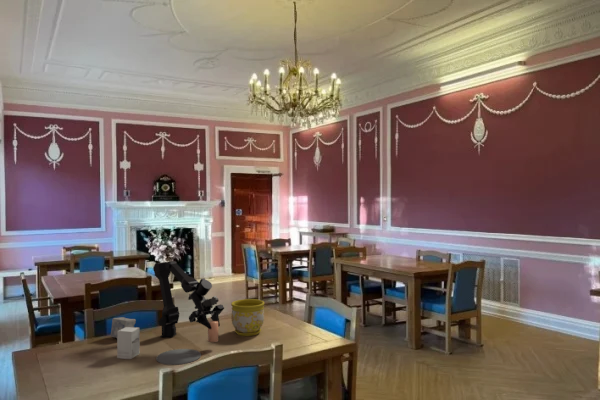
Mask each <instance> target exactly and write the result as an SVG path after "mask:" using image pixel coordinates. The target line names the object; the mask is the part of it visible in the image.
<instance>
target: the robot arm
mask: <svg viewBox="0 0 600 400" xmlns="http://www.w3.org/2000/svg"><path fill="white" fill-rule="evenodd" d="M153 272H154V276H155V277H156V278H157V279H158V281H159V287H160V292H161V298H162V304H163V308H162V311H161V317H160V318H159V320H158V326H161V335H160V336H159V337H160V338H167V339H168V338H174V337H175V336H177V327H176V324H178V323H179V319H180V311H179V307H178V306H176V305H175V304H174V300H173V294H172V289H171V284H170V275H171V274H172V275H173V276H174V277H175V278H176V279H177V280H178V282H179V283H180V287H181V288H182V290H183V291H184V292H185V293H187V294H188V293H189V294H188V298H187V300H188V301H190V300H192V303H193V304H194V309H195V310H193V311H192V312H191V313H190V315H189V316H188V321H189V322H190V323H194V322H196V323H199V324H200V325H203V326H204V327H206V329H208V328H209V329H211V325H210V323H209V321H210V320H211V321H218V328H219V327H220V325H221V324H220V318H219V315H220V314H221V313H222V312H223V310H225V307H224V305H223V304H222V303H221V304H218V302H219V298H218V297H217V295H214V296H211V298H205V296H206V295H208V293H209V292H210V290H211V289H212V287H213V284H212V282H211V281H209V280H207V279H205V277H202V278H201V279H200V280H199V281H198V280H197V279H196V278H195V277H192V276H189V275H188V274H187V273H186V271H184V270H183V268H181V267H180V265H179V264H178V262H177V261H175V260H170V261H163V262H156V263H155V264H154V265H153ZM217 304H218V305H217ZM208 315H210V316H211V317H210V320H208V318H207V316H208Z"/></svg>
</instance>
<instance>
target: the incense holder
mask: <svg viewBox="0 0 600 400" xmlns="http://www.w3.org/2000/svg"><path fill="white" fill-rule="evenodd" d="M111 320H112V322H111V330H110V337H111V338H116V339H117V331H119V330H121V329H123V328H125V327H135V324H136V321H137V320H136V319H135V318H126V317H124V316H122V317H121V316H120V317H114V318H112V319H111Z"/></svg>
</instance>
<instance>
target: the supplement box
mask: <svg viewBox="0 0 600 400" xmlns="http://www.w3.org/2000/svg"><path fill="white" fill-rule="evenodd" d="M140 328H141V327H137V326H136V327H135V326H134V327H125V328H123V329H121V330H119V331H117V338H116V342H117V347H116V349H117V350H116V351H117V355H116V359H125V360H131V359H133V358H135V357H137V356H138V355H140V348H141V347H140V338H141V337H140V331H141V330H140Z"/></svg>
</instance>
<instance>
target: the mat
mask: <svg viewBox="0 0 600 400" xmlns="http://www.w3.org/2000/svg"><path fill="white" fill-rule="evenodd" d="M201 353H202V352H200V351H199V350H197V349H193V348H192V349H191V348H177V349H170V350H168V351H167V350H166V351H163V352H161V353H159V354H158V355H157V356H156V362H158V363H159V364H162V365H168V366H169V365H170V366H177V365H178V366H179V365H186V364H190V363H194V362H195V361H198V360H199V359H200V358H201V356H202V354H201Z"/></svg>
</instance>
